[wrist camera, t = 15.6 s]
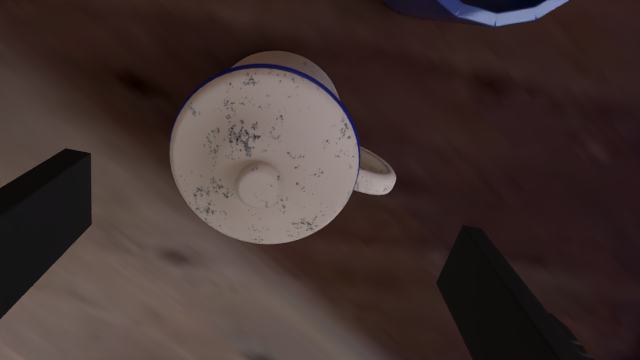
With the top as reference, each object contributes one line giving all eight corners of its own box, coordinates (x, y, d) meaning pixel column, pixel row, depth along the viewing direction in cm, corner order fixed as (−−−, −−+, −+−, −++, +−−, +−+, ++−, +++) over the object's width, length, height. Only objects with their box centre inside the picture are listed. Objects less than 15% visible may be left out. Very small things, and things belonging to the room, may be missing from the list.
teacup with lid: (197, 154, 27) (127, 249, 16) (229, 24, 23) (166, 37, 13) (354, 203, 29) (381, 315, 18) (404, 89, 25) (474, 148, 15)
